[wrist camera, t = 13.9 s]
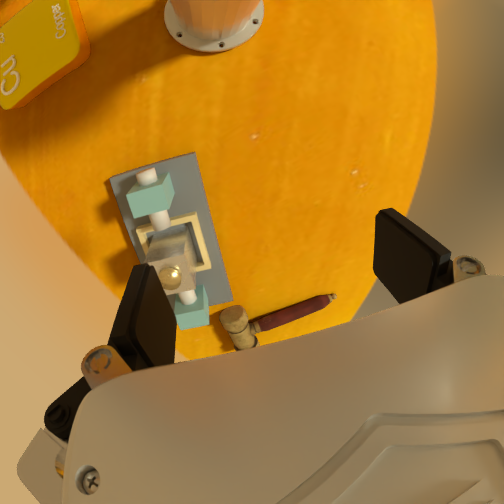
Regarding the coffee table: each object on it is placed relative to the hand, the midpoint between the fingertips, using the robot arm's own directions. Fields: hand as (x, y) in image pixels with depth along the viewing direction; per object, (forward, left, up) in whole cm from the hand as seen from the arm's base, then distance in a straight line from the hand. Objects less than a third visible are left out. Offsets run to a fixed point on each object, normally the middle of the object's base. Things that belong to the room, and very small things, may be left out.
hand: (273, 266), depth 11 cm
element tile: (-25, -23, -29) cm, 45 cm away
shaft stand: (+11, -10, -28) cm, 32 cm away
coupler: (+11, -10, -27) cm, 31 cm away
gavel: (+30, +4, -29) cm, 42 cm away
